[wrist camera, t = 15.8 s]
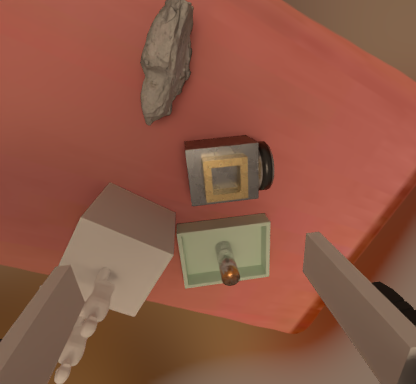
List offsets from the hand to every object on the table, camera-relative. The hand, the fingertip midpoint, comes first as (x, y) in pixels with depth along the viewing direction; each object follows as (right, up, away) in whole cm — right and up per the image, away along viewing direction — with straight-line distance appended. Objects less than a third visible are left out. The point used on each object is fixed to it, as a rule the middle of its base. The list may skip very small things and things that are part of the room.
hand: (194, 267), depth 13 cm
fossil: (-6, +25, +27) cm, 37 cm away
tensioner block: (+4, +10, +34) cm, 36 cm away
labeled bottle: (+4, -9, +41) cm, 42 cm away
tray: (+4, -8, +42) cm, 43 cm away
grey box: (-17, -4, +38) cm, 42 cm away
